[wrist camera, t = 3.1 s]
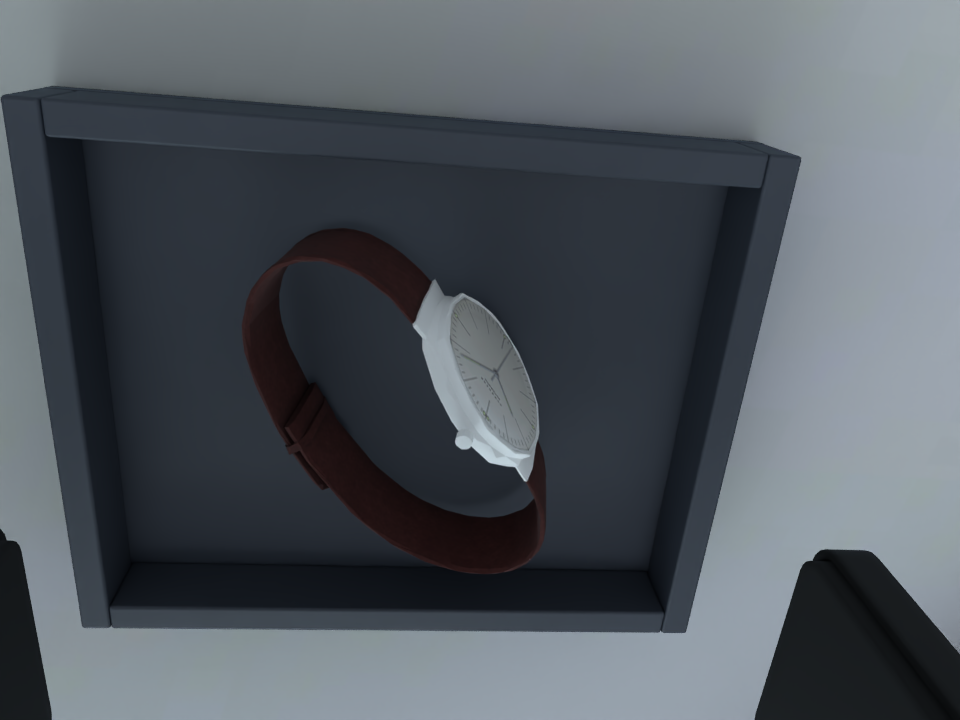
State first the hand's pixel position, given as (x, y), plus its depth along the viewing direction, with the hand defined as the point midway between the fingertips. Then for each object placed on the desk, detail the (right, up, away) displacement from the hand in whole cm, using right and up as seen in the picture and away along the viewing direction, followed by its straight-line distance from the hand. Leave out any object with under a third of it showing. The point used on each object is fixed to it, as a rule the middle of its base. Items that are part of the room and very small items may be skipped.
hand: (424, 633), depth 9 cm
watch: (-1, +3, +7) cm, 8 cm away
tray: (-1, +3, +7) cm, 8 cm away
